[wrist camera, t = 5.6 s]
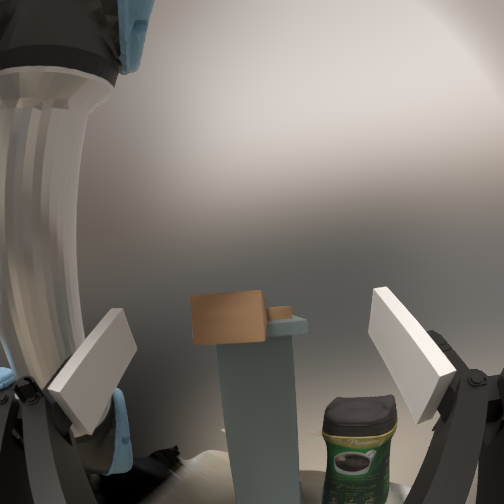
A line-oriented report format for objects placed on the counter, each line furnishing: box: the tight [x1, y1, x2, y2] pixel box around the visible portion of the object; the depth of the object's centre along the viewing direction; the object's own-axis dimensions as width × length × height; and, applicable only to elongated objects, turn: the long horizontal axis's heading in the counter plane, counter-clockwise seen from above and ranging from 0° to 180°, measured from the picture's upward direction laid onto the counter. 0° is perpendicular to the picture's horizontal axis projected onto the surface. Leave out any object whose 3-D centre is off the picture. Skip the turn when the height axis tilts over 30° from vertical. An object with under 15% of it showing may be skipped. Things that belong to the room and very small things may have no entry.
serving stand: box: [192, 315, 308, 504], centre depth 25 cm, size 9×16×30 cm, turn 177°
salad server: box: [190, 290, 292, 345], centre depth 23 cm, size 8×26×2 cm, turn 177°
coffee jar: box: [322, 395, 398, 504], centre depth 25 cm, size 10×8×19 cm
